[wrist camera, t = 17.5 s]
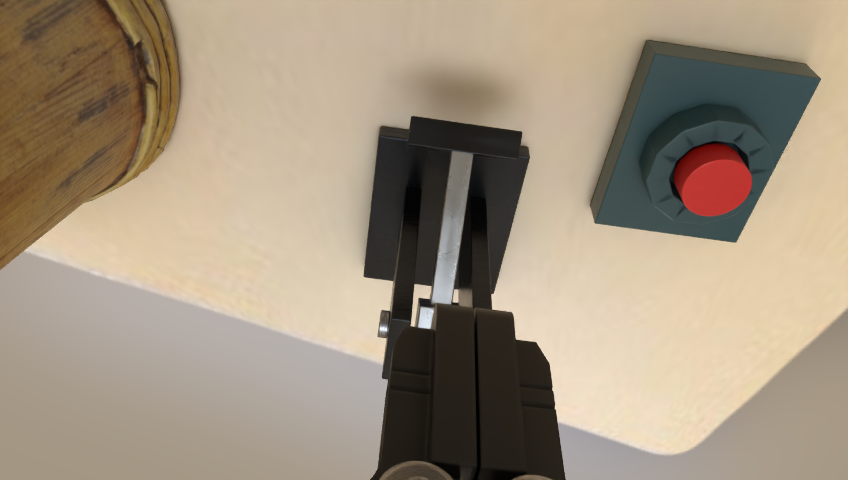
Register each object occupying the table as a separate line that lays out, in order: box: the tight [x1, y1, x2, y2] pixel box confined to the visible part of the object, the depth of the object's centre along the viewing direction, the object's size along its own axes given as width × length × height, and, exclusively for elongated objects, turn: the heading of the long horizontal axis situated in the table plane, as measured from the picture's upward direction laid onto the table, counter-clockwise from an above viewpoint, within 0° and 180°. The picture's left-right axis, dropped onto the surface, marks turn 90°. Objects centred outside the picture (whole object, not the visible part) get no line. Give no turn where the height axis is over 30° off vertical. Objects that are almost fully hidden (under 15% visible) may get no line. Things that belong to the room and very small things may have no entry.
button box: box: [590, 40, 821, 243], centre depth 39 cm, size 11×9×4 cm
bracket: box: [364, 127, 530, 379], centre depth 39 cm, size 11×9×13 cm
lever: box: [407, 116, 522, 329], centre depth 35 cm, size 12×6×2 cm, turn 172°
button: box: [674, 143, 752, 216], centre depth 37 cm, size 4×4×2 cm
